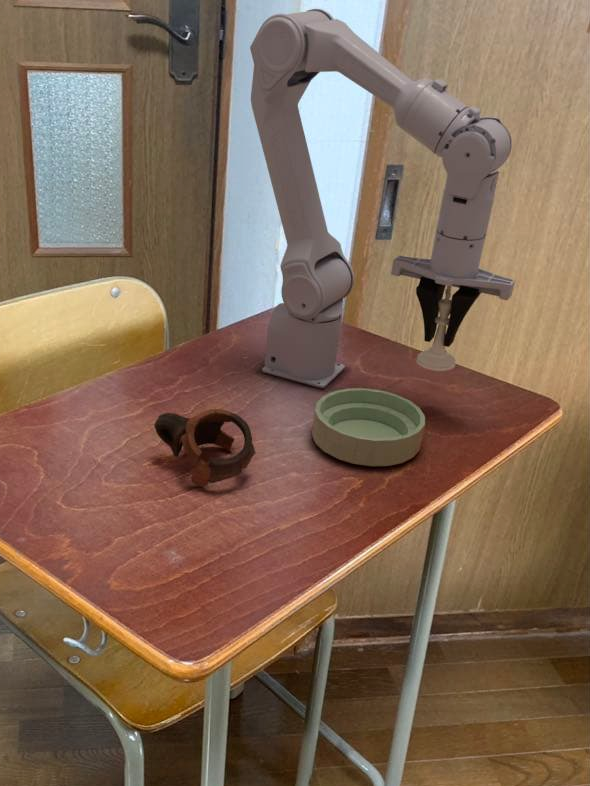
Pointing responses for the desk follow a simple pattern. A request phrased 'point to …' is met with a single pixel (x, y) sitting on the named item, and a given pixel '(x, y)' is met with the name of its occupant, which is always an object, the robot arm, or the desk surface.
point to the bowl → (368, 427)
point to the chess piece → (439, 341)
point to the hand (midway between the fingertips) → (438, 341)
